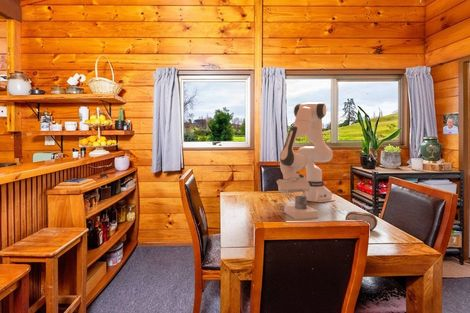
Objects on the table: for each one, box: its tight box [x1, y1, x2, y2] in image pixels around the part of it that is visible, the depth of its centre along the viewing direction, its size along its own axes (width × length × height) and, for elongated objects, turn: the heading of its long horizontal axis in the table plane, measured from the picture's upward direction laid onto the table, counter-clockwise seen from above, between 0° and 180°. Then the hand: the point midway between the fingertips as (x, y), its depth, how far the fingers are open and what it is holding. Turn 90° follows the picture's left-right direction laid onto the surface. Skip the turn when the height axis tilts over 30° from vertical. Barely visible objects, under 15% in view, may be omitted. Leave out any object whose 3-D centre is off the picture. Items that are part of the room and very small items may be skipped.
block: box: [294, 195, 308, 209], centre depth 185 cm, size 5×5×7 cm
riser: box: [283, 204, 319, 220], centre depth 185 cm, size 14×16×4 cm
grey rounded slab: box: [345, 211, 378, 231], centre depth 158 cm, size 15×3×8 cm, turn 59°
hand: (297, 197), depth 190 cm, fingers open, 8 cm apart
